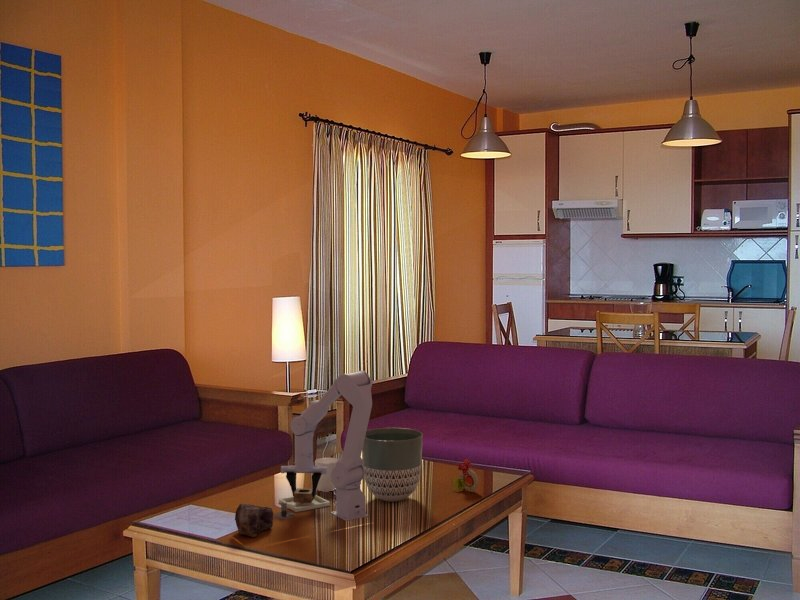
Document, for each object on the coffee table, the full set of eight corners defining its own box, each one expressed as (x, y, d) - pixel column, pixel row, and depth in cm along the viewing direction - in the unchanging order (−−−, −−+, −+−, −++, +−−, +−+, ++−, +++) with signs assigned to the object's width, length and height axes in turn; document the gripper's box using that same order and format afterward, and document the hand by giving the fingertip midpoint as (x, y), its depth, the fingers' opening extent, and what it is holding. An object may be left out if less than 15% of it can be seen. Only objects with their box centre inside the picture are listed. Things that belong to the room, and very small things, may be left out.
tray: (330, 506, 263) (330, 501, 263) (295, 513, 257) (295, 508, 257) (312, 497, 273) (312, 493, 273) (278, 503, 267) (278, 499, 267)
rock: (276, 535, 241) (251, 528, 246) (280, 505, 241) (254, 498, 247) (247, 540, 231) (222, 532, 237) (251, 509, 232) (225, 502, 237)
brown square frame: (314, 498, 267) (314, 488, 267) (310, 504, 260) (310, 494, 260) (297, 497, 268) (297, 488, 268) (292, 503, 261) (292, 494, 261)
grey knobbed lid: (298, 517, 253) (298, 503, 252) (278, 521, 249) (278, 507, 249) (288, 512, 258) (288, 498, 258) (269, 515, 254) (269, 502, 254)
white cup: (310, 491, 281) (310, 461, 280) (323, 485, 288) (323, 456, 287) (330, 494, 277) (330, 464, 277) (343, 488, 284) (343, 459, 284)
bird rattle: (477, 496, 282) (457, 481, 286) (489, 468, 278) (468, 454, 283) (467, 500, 277) (447, 485, 282) (478, 472, 273) (457, 457, 278)
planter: (351, 495, 275) (351, 431, 274) (405, 487, 284) (404, 425, 283) (378, 512, 258) (377, 443, 256) (434, 503, 267) (433, 436, 266)
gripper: (278, 455, 261) (278, 498, 262) (324, 456, 260) (324, 499, 260) (283, 450, 268) (283, 492, 269) (328, 451, 267) (328, 493, 267)
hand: (304, 495), depth 265 cm, fingers closed on brown square frame, 6 cm apart
